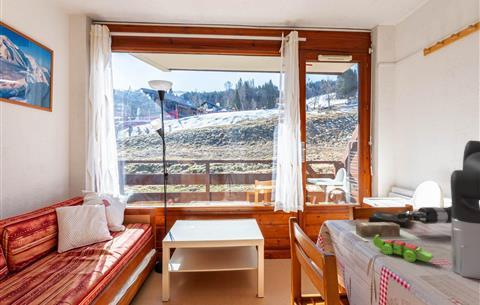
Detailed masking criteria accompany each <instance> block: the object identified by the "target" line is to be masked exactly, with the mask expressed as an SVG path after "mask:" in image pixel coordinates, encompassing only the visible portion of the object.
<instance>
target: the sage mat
mask: <svg viewBox="0 0 480 305" xmlns="http://www.w3.org/2000/svg"><path fill="white" fill-rule="evenodd" d="M349 233H350V234H353V236H355V235H356V237H357V238H358V237H359V238H358V239H360V238H361V239H362V240H361V239H360V240H361V241H363V240H364V241H369V242H373V239H374V237H360V236H358V235H357V234H356V230H349ZM379 239H381V240H385V241H387V240H395V241H414V240H415V241H418V240H419V241H420V240H421V241H422V240H423V239H422V238H420V237H418V236H416V235H413V234H412V233H409V232H407V231H404V229H400V236H397V237H379ZM364 241H363V242H364Z"/></svg>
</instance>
